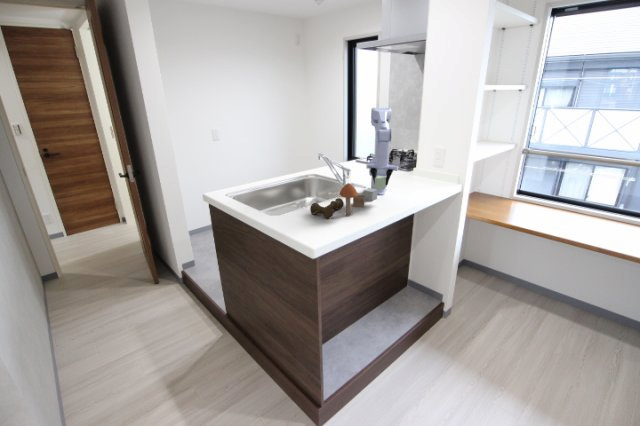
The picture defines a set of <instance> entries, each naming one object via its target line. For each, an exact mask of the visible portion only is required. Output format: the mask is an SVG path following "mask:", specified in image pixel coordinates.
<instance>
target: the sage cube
mask: <svg viewBox="0 0 640 426" xmlns="http://www.w3.org/2000/svg"><path fill="white" fill-rule="evenodd" d="M387 187H388V185H386V176H377V177H376V178H375V187H374V188H375V189H384V190H385V189H387Z"/></svg>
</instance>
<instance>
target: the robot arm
mask: <svg viewBox="0 0 640 426" xmlns="http://www.w3.org/2000/svg"><path fill="white" fill-rule="evenodd" d="M391 118H392V108H391V107H372V108H371V111H370V123H371V126H373V127H374V130H375V139H374V140H375V146H374V147H375V148H374V158H372V159H371V160H370V162H369V163H367V164H366V169H367V170H368V173H369V176H370V177H371V182H370V188H372V189H375V188H374V187H375V178H376V177H377V176H386V185H387V186H388V184H389V181H390V178H391V175H392V174H393V172H394V171H396V172H398V170H399V166H398V165H392V164H389V159H390V145H391V142H392V138H393V137H392V135H393V134H392V128H390V122H391ZM387 190H388V188H386V189H385V190H384V189H377V195H378V196H379V195H380V196H383V195H385V193H386V192H387Z"/></svg>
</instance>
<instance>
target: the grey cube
mask: <svg viewBox="0 0 640 426" xmlns="http://www.w3.org/2000/svg"><path fill="white" fill-rule="evenodd" d="M363 194H365V199H364V201H369V202H374V201H375V200H378V194H377V189H372V188H371V187H368V188H366V189H364V190H363Z"/></svg>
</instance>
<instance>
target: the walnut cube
mask: <svg viewBox="0 0 640 426" xmlns="http://www.w3.org/2000/svg"><path fill="white" fill-rule="evenodd" d="M357 194H358V195H357V196H356V197H353V198H352V199H353V200H352V207H353V208H364V207H365V200H364V199H365V194H364V193H357Z"/></svg>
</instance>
